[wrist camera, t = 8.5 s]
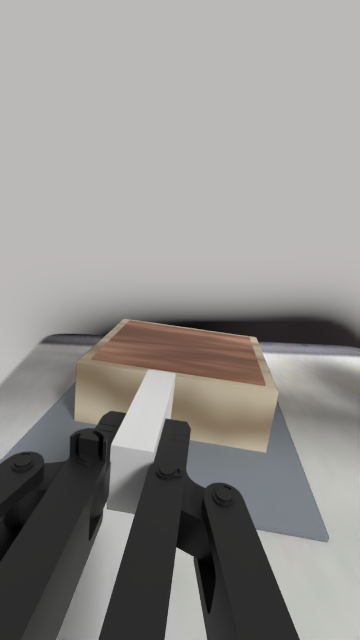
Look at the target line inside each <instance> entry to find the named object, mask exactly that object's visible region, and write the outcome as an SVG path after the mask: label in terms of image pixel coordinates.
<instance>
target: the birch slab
mask: <svg viewBox="0 0 360 640" xmlns="http://www.w3.org/2000/svg"><path fill="white" fill-rule="evenodd" d="M148 369H150V370H156V371H163V372H170V373H176V378H175V386H174V395H173V403H172V412H171V419H173V420H179V421H185V422H188V424H189V426H190V428H191V433H190V440H192V441H198V442H205V443H211V444H217V445H223V446H229V447H235V448H241V449H247V450H253V451H259V452H265V453H266V450H267V445H268V441H269V436H270V431H271V427H272V422H273V417H274V413H275V408H276V403H277V399H278V394H279V392H278V390H277V388H276V385H275V383H274V380H273V378H272V375H271V373H270V370H269V368H268V366H267V363H266V361H265V358H264V356H263V353H262V351H261V348H260V346H259V344H258V341H257V339H256V338H255V337H248V336H241V335H234V334H227V333H220V332H213V331H206V330H199V329H192V328H185V327H178V326H171V325H164V324H157V323H150V322H143V321H136V320H129V319H123V320H122V321H121V322H120V323H119V324H118V325H117V326H116V327H115V328H114V329H112V330H111V331H110V332H109V333H108V334H107V335H106V336H105V337H104V338H103V339H101V340H100V341H99V342H98V343H97V344H96V345H95V346H94V347H93V348H92V349H90V350H89V351H88V352H87V353H86V354H85V355H84V356H83V357H82V358H81V359H79V360H78V361H77V364H76V390H75V416H74V421H78V422H84V423H90V424H96V425H97V424H98V422H99V421H100V419H101V418H102V416H103V415H105V414H106V413H108V412H109V411H117V412H123V413H127V412H128V410H129V408H130V406H131V404H132V401H133V399H134V397H135V395H136V393H137V391H138V389H139V387H140V385H141V383H142V381H143V379H144V377H145V375H146V373H147V371H148Z"/></svg>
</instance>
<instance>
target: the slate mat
mask: <svg viewBox="0 0 360 640" xmlns="http://www.w3.org/2000/svg"><path fill="white" fill-rule="evenodd" d="M75 390H76V382H75V383H74V385H73V386H72V387H71V388H70V389H69V390H68V391H67V392H66V393H65V394H64V395H63V396H62V397H61V398H60V399H59V400H58V401H57V402H56V403H55V404H54V405H53V407H52V408H51V409H50V410H49V411H48V412H47V413H46V414H45V415H44V416H43V417H42V418H41V419H40V420H39V421H38V422H37V423H36V424H35V425H34V426H33V427H32V429H31V430H30V431H29V432H28V433H27V434H26V435H25V436H24V437H23V438H22V439H21V440H20V441H19V442H18V443H17V444H16V445H15V446H14V447H13V448H12V449H11V451H10V452H9V453H8V454H7V455H6V456H5V457H4V458H3V459H2V460H1V461H0V463H2V462H3V461H5V460H6V459H7V458H9V457H11V456H12V455H14V454H17V453H21V452H28V451H32V452H37V453H39V454H40V455H42V456H43V458H44V463H53V462H62V461H66V460H67V459H68V458H69V456H70V436H71V435H72V434H73V433H74V432H76V431H78V430H80V429H86V428H95V427H96V426H97V425H96V424H90V423H84V422H78V421H74V416H75ZM186 471H187V474H188V476H189V477H190V479H191V480H192V481H194V482H195V483H196V484H198V485H200V486H202V487H204V488H206V487H207V486H209V485H210V484H212V483H218V482H220V483H226V484H229V485H231V486H233V487H235V488H236V489H237V490H238V491H239V492H240V493H241V495H242V496H243V498H244V501H245V503H246V506H247V508H248V511H249V514H250V516H251V519H252V521H253V524H254V526H255V529H259V530H265V531H270V532H276V533H281V534H287V535H292V536H297V537H303V538H308V539H314V540H319V541H325V542H328V540H329V535H328V533H327V530H326V528H325V525H324V522H323V520H322V517H321V514H320V512H319V509H318V507H317V504H316V501H315V499H314V496H313V493H312V491H311V488H310V485H309V483H308V480H307V478H306V475H305V472H304V470H303V467H302V464H301V462H300V459H299V457H298V454H297V451H296V449H295V446H294V443H293V441H292V438H291V436H290V433H289V430H288V428H287V425H286V422H285V420H284V417H283V415H282V412H281V409H280V407H279V404H278V401H277V403H276V408H275V413H274V417H273V422H272V427H271V431H270V436H269V441H268V445H267V450H266V453H265V452H259V451H253V450H247V449H241V448H235V447H229V446H223V445H217V444H211V443H205V442H198V441H192V440H190V441H189V449H188V457H187V465H186ZM106 502H107V501H106Z"/></svg>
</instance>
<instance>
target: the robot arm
mask: <svg viewBox="0 0 360 640" xmlns="http://www.w3.org/2000/svg"><path fill="white" fill-rule="evenodd" d="M175 378H176V373H170V372H163V371H156V370H150V369H148V371H147V373H146V375H145V377H144V379H143V381H142V383H141V385H140V387H139V389H138V391H137V393H136V395H135V397H134V399H133V401H132V404H131V406H130V408H129V410H128V412H127V413H123V412H117V411H109V412H108V413H106V414H105V415H103V416H102V418H101V419H100V421H99V422H98V424H97V426H96V427H95V428H86V429H80V430H78V431H76V432H74V433H73V434H72V435H71V436H70V456H69V458H68V459H67V460H66V461H62V462H53V463H44V458H43V456H42V455H40V454H39V453H37V452H32V451H28V452H21V453H17V454H14V455H12V456H11V457H9V458H7V459H6V460H5V461H3V462H2V463H0V640H56V638H57V635H58V633H59V630H60V628H61V625H62V622H63V620H64V617H65V615H66V612H67V610H68V607H69V605H70V602H71V599H72V597H73V594H74V592H75V589H76V587H77V584H78V582H79V579H80V576H81V574H82V571H83V569H84V566H85V564H86V561H87V559H88V556H89V554H90V551H91V548H92V546H93V543H94V541H95V538H96V536H97V533H98V531H99V528H100V525H101V523H102V518H103V508H104V506H105V503H106V501H107V509H110V510H115V511H121V512H126V513H132V514H135V516H134V519H133V523H132V526H131V530H130V533H129V537H128V540H127V544H126V547H125V550H124V554H123V557H122V561H121V564H120V568H119V571H118V574H117V578H116V581H115V585H114V588H113V592H112V595H111V599H110V602H109V605H108V609H107V612H106V616H105V619H104V623H103V626H102V629H101V633H100V636H99V640H164V638H165V631H166V623H167V615H168V607H169V599H170V592H171V584H172V576H173V568H174V560H175V553H176V547H177V548H179V549H181V550H183V551H184V552H186V553H188V554H190V555H192V556H194V566H195V571H196V577H197V583H198V588H199V594H200V600H201V606H202V611H203V617H204V623H205V628H206V634H207V640H300V639H299V637H298V634H297V632H296V629H295V627H294V624H293V622H292V619H291V617H290V614H289V612H288V609H287V607H286V604H285V602H284V599H283V596H282V594H281V591H280V589H279V586H278V584H277V581H276V579H275V576H274V574H273V571H272V569H271V566H270V564H269V561H268V559H267V556H266V554H265V551H264V549H263V546H262V544H261V541H260V539H259V536H258V534H257V531H256V529H255V526H254V524H253V521H252V519H251V516H250V514H249V511H248V508H247V506H246V503H245V501H244V498H243V496H242V495H241V493H240V492H239V491H238V490H237V489H236V488H235V487H233V486H231V485H229V484H226V483H220V482H218V483H212V484H210V485H209V486H207V487H206V488H204V487H202V486H200V485H198V484H196V483H195V482H194V481H192V480H191V479H190V477H189V476H188V474H187V471H186V465H187V457H188V449H189V441H190V433H191V428H190V426H189V424H188V422H185V421H179V420H173V419H171V412H172V403H173V395H174V386H175Z"/></svg>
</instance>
